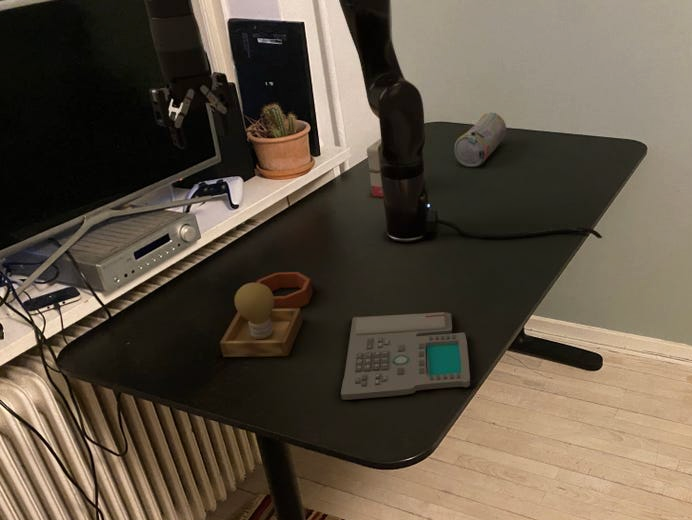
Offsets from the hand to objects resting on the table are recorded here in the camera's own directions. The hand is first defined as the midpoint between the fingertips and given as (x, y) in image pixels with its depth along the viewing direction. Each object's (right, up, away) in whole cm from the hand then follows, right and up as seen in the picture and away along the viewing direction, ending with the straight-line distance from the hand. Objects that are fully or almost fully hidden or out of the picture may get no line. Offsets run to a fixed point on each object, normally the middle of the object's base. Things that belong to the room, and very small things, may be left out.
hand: (203, 141), depth 129 cm
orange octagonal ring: (+12, -27, +9) cm, 31 cm away
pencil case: (+50, +17, +72) cm, 89 cm away
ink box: (+26, +3, +53) cm, 59 cm away
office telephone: (+37, -38, -8) cm, 54 cm away
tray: (+11, -35, -2) cm, 37 cm away
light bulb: (+11, -35, -2) cm, 37 cm away
